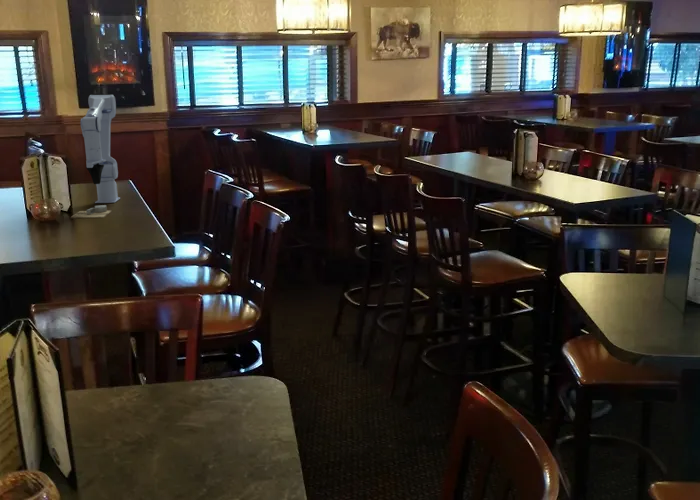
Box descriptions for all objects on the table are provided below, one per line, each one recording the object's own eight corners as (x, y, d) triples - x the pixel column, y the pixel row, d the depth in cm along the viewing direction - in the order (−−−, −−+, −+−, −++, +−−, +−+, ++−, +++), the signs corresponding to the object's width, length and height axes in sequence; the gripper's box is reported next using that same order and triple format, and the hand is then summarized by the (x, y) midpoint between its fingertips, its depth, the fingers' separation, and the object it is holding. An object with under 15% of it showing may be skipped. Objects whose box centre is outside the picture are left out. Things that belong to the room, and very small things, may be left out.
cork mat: (79, 212, 263) (79, 211, 263) (111, 211, 264) (111, 210, 264) (70, 218, 253) (70, 217, 252) (103, 217, 253) (103, 216, 253)
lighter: (106, 204, 265) (106, 208, 258) (106, 209, 266) (106, 213, 258) (86, 206, 263) (86, 210, 256) (87, 210, 263) (86, 214, 256)
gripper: (98, 150, 256) (102, 186, 259) (109, 146, 270) (112, 180, 273) (79, 151, 255) (83, 187, 259) (90, 146, 269) (94, 180, 273)
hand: (97, 183), depth 266 cm, fingers closed
